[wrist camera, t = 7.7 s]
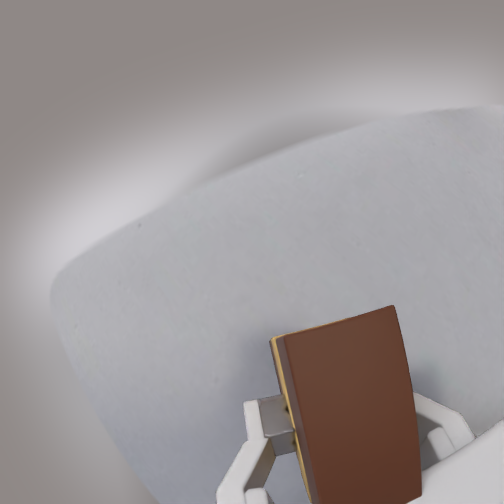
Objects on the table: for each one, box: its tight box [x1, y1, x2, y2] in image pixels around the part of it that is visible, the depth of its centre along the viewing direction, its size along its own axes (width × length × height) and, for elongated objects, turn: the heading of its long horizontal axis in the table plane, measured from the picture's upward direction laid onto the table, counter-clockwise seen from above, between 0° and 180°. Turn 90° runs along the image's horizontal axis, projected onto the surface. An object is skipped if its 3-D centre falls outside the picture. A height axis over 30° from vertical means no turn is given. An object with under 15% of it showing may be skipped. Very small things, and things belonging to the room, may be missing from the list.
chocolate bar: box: [269, 305, 422, 504], centre depth 10 cm, size 2×6×11 cm, turn 12°
